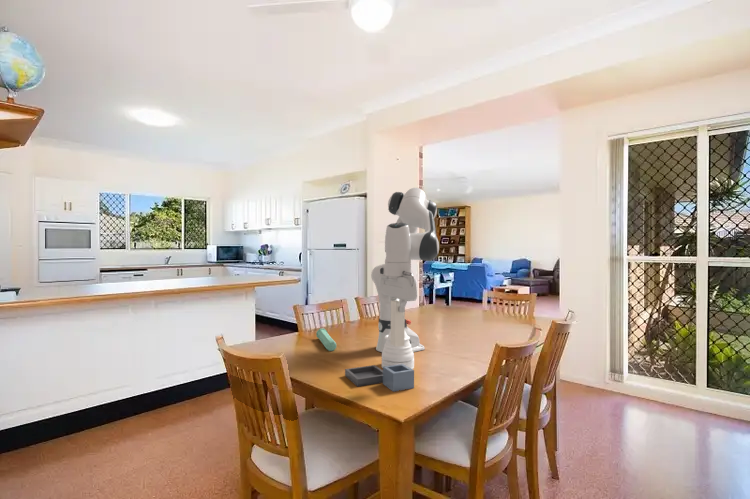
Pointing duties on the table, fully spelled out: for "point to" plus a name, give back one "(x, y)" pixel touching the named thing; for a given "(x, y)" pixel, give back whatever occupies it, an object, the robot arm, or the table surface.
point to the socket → (398, 377)
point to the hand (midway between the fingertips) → (398, 310)
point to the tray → (365, 375)
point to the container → (326, 339)
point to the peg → (397, 324)
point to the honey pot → (397, 353)
